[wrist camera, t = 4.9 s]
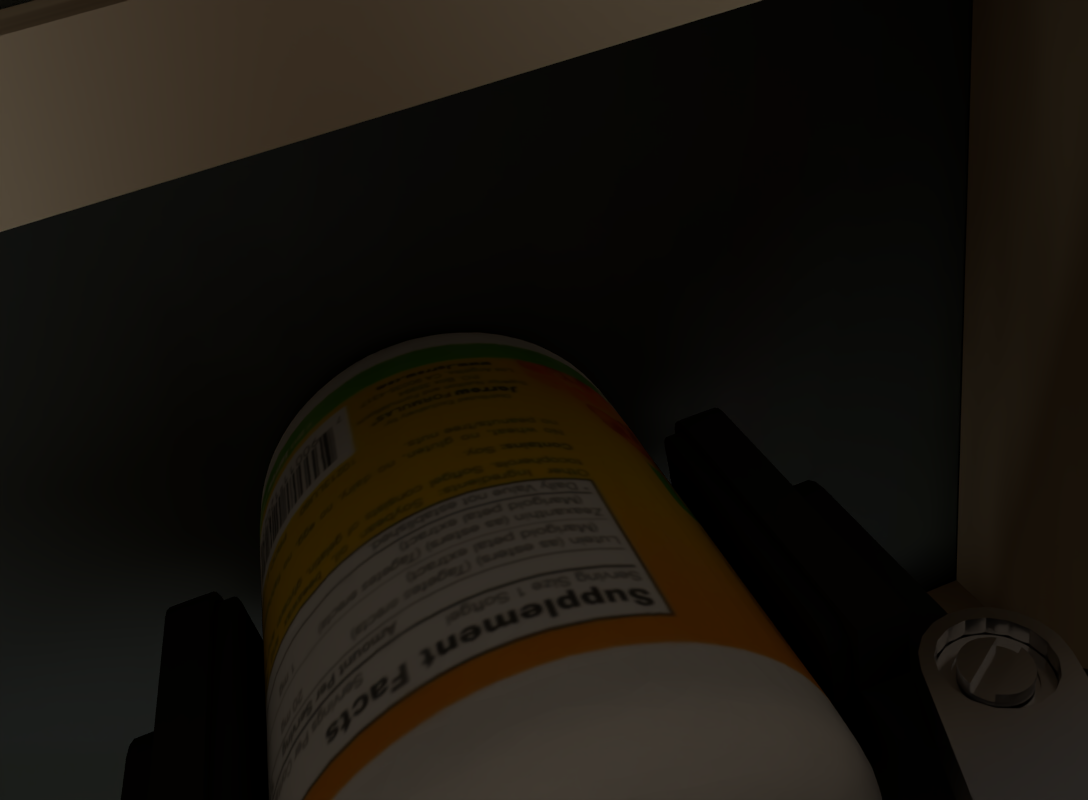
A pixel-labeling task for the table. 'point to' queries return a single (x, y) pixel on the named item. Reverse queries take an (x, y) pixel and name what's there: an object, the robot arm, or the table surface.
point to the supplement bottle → (514, 603)
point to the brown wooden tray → (570, 31)
